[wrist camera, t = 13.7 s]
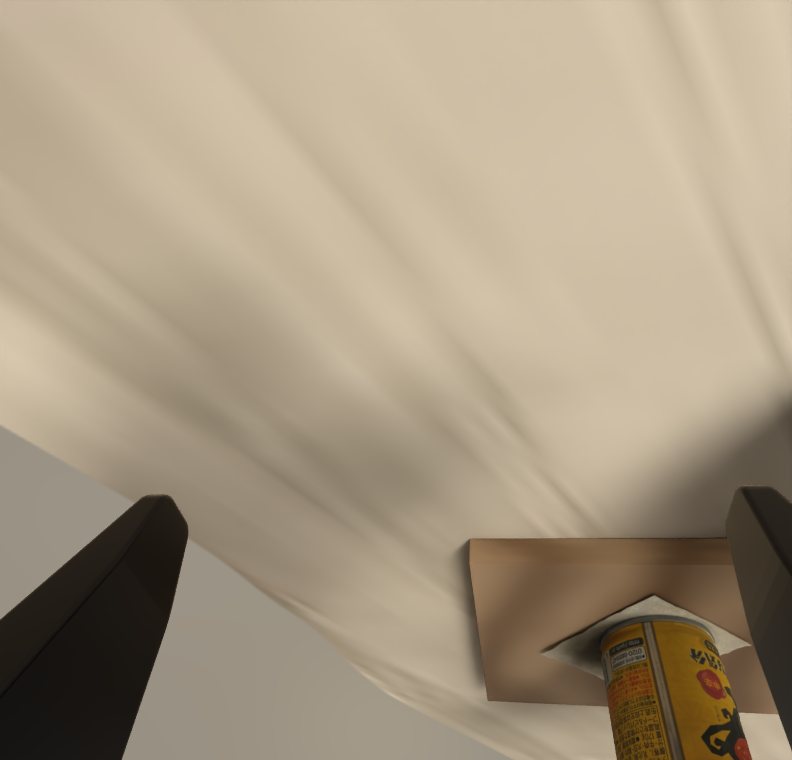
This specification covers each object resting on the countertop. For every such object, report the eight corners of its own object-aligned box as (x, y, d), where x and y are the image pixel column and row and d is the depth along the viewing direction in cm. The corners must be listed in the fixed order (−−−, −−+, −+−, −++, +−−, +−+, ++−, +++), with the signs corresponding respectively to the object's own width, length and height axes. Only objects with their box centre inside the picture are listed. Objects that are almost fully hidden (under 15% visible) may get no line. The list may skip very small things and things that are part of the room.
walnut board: (851, 538, 28) (867, 565, 27) (771, 689, 38) (780, 714, 37) (469, 539, 31) (469, 564, 30) (487, 678, 41) (487, 700, 40)
